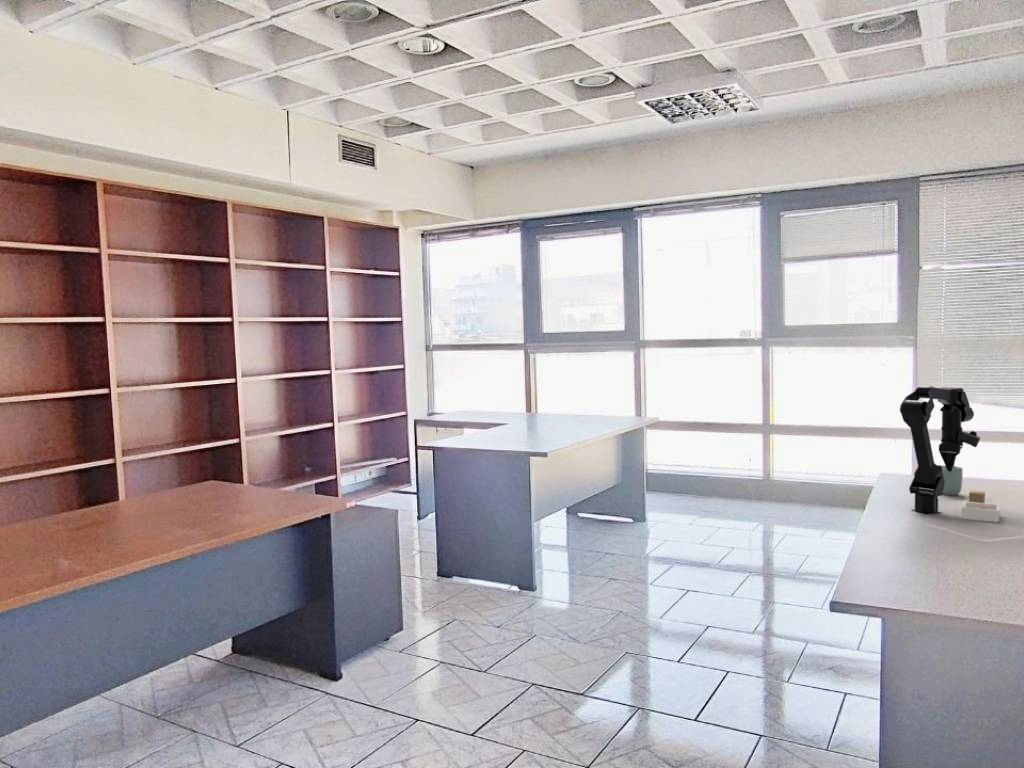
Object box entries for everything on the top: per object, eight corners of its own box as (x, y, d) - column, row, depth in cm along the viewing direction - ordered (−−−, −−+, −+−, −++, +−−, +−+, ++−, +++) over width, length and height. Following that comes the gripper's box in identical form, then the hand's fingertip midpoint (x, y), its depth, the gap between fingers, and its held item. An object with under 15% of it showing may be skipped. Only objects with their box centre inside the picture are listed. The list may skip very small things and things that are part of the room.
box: (998, 523, 243) (999, 510, 243) (961, 519, 249) (962, 507, 248) (999, 516, 251) (999, 504, 251) (963, 513, 257) (963, 501, 257)
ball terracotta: (981, 516, 250) (981, 507, 250) (973, 514, 253) (973, 505, 252) (988, 516, 251) (989, 506, 250) (980, 514, 253) (981, 505, 253)
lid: (991, 513, 257) (991, 496, 257) (957, 510, 264) (957, 493, 263) (996, 508, 265) (996, 491, 265) (962, 504, 272) (962, 488, 271)
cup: (955, 492, 290) (956, 465, 289) (966, 496, 282) (966, 469, 281) (933, 492, 290) (934, 465, 290) (943, 496, 283) (943, 469, 282)
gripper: (977, 428, 255) (976, 475, 256) (980, 422, 271) (979, 466, 272) (938, 426, 261) (938, 473, 262) (943, 420, 277) (942, 464, 278)
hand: (950, 469), depth 268 cm, fingers open, 9 cm apart
